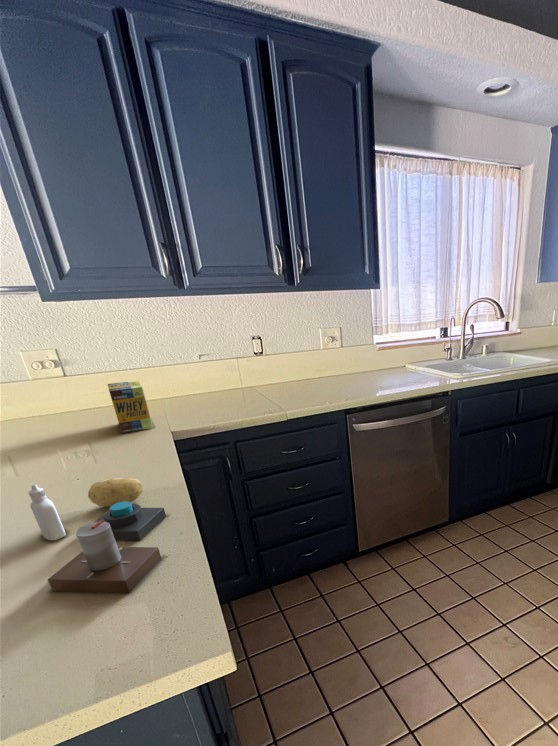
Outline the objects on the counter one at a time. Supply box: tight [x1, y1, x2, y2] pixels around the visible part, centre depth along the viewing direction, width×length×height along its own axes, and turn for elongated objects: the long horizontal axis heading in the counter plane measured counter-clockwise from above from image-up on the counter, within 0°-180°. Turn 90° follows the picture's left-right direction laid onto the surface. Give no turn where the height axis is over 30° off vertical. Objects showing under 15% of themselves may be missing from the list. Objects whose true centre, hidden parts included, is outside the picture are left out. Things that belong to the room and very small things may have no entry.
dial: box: [75, 520, 121, 571], centre depth 75 cm, size 5×5×7 cm
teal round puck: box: [109, 501, 133, 517], centre depth 90 cm, size 4×4×2 cm
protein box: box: [107, 380, 154, 434], centre depth 159 cm, size 10×15×16 cm
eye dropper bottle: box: [28, 483, 66, 541], centre depth 88 cm, size 4×6×12 cm
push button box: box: [92, 503, 167, 541], centre depth 92 cm, size 12×10×4 cm
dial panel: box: [47, 546, 162, 594], centre depth 77 cm, size 14×10×3 cm
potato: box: [87, 477, 143, 508], centre depth 102 cm, size 7×11×6 cm, turn 111°
